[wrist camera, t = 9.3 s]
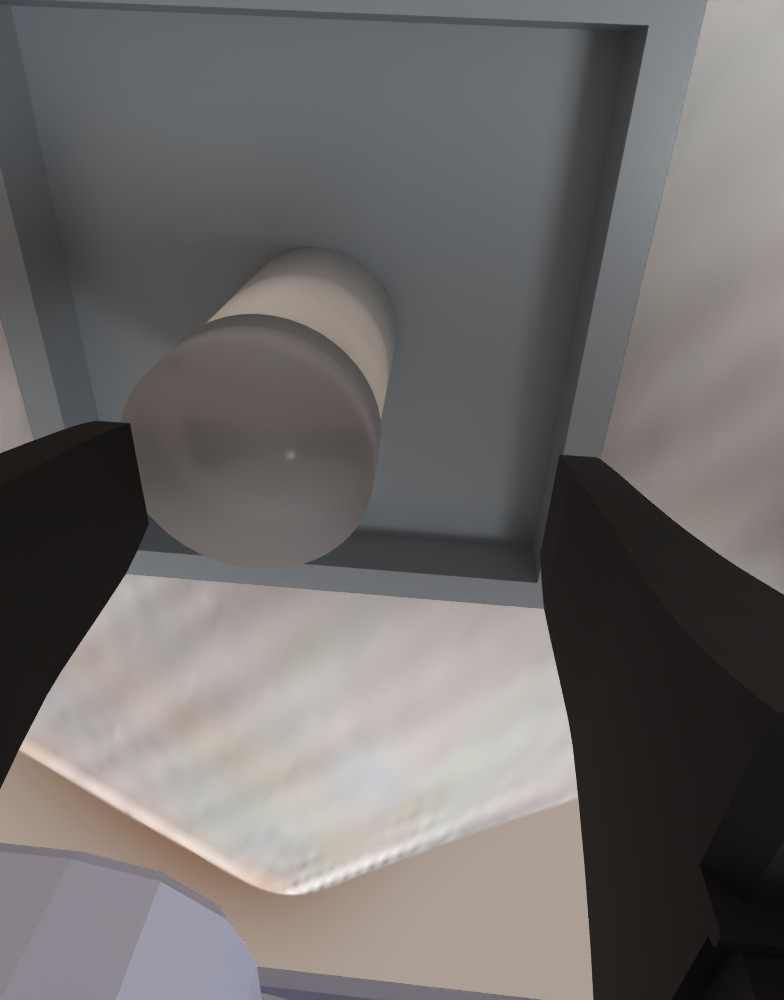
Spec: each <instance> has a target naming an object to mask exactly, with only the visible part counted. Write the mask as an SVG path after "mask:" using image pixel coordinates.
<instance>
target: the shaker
mask: <svg viewBox="0 0 784 1000" xmlns="http://www.w3.org/2000/svg"><path fill="white" fill-rule="evenodd" d="M396 339H397V322H396V316H395V311H394V308H393V305H392V302H391V300H390V297H389V295H388V293H387V291H386V290H385V288H384V286H383V285H382V283H381V282H380V281H379V280H378V278H377V277H376V276H375V275H374V274H373V273H372V272H371V271H370V270H369V269H368V268H367V267H366V266H364V265H363V264H362V263H360V262H359V261H358V260H356V259H354V258H352V257H350V256H348V255H346V254H344V253H341V252H339V251H335V250H331V249H327V248H318V247H310V248H300V249H295V250H292V251H289V252H286V253H283V254H281V255H279V256H277V257H275V258H274V259H272V260H271V261H270V262H268V263H267V264H266V265H265V266H264V267H263V268H262V269H261V270H259V271H258V272H257V273H256V274H255V275H254V276H253V277H252V278H251V279H250V280H249V281H248V282H247V283H246V284H245V285H244V286H243V287H242V288H241V289H240V290H239V291H238V292H237V293H236V294H235V295H234V296H233V297H232V298H231V299H230V300H229V301H228V302H227V303H226V304H225V305H224V306H223V307H222V308H221V309H220V310H219V311H218V312H217V313H216V314H215V315H214V316H213V317H212V318H211V319H210V320H209V321H208V322H207V323H206V324H204V325H202V326H200V327H198V328H196V329H195V330H193V331H192V332H190V333H189V334H187V335H186V336H185V337H184V338H182V339H181V340H180V341H179V342H178V343H177V344H176V345H175V346H174V347H173V348H172V349H171V350H170V351H169V352H168V353H167V354H166V355H165V356H164V357H163V358H162V359H160V360H159V361H158V362H157V363H156V364H155V365H154V366H153V367H152V368H151V369H150V370H149V371H148V372H147V373H146V374H145V375H144V376H143V377H142V378H141V379H140V380H139V382H138V383H137V384H136V386H135V387H134V388H133V390H132V392H131V394H130V396H129V397H128V399H127V401H126V404H125V407H124V410H123V413H122V416H121V422H122V423H130V426H131V431H132V436H133V442H134V447H135V452H136V457H137V463H138V468H139V473H140V479H141V484H142V489H143V495H144V500H145V505H146V510H147V513H148V514H149V515H150V516H151V518H152V519H153V520H154V521H155V522H156V523H157V524H158V525H159V526H160V527H161V528H162V529H164V530H165V531H166V532H167V533H168V534H169V535H171V536H172V537H173V538H175V539H176V540H178V541H179V542H180V543H182V544H183V545H185V546H187V547H188V548H190V549H192V550H194V551H196V552H197V553H199V554H202V555H204V556H206V557H209V558H211V559H213V560H216V561H220V562H223V563H226V564H230V565H234V566H239V567H244V568H253V569H278V568H288V567H292V566H297V565H301V564H304V563H307V562H310V561H313V560H315V559H317V558H319V557H321V556H323V555H325V554H327V553H329V552H330V551H332V550H333V549H335V548H336V547H338V546H339V545H340V544H341V543H342V542H344V541H345V540H346V539H347V538H348V537H349V536H350V535H351V534H352V532H353V531H354V530H355V529H356V528H357V526H358V525H359V523H360V521H361V520H362V518H363V516H364V515H365V512H366V510H367V507H368V505H369V502H370V499H371V494H372V490H373V485H374V480H375V474H376V469H377V464H378V458H379V453H380V447H381V435H382V432H381V417H382V412H383V407H384V401H385V396H386V391H387V386H388V381H389V376H390V371H391V366H392V361H393V356H394V351H395V346H396Z"/></svg>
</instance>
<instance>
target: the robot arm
mask: <svg viewBox="0 0 784 1000" xmlns="http://www.w3.org/2000/svg"><path fill="white" fill-rule="evenodd" d="M148 525H149V521H148V516H147V510H146V505H145V500H144V495H143V489H142V484H141V479H140V473H139V468H138V463H137V457H136V452H135V447H134V442H133V436H132V431H131V426H130V423H122V422H108V421H91V422H87V423H83V424H79V425H76V426H73V427H69V428H66V429H64V430H61V431H58V432H55V433H52V434H50V435H47V436H44V437H42V438H39V439H36V440H34V441H31V442H29V443H26V444H23V445H21V446H18V447H16V448H13V449H10V450H8V451H5V452H3V453H0V788H1V786H2V784H3V782H4V780H5V778H6V776H7V773H8V771H9V769H10V767H11V765H12V763H13V761H14V759H15V757H16V755H17V753H18V750H19V748H20V746H21V744H22V742H23V740H24V738H25V737H26V735H27V733H28V731H29V729H30V727H31V725H32V723H33V721H34V719H35V717H36V715H37V713H38V711H39V709H40V707H41V705H42V704H43V702H44V700H45V698H46V696H47V694H48V692H49V691H50V689H51V687H52V686H53V684H54V682H55V681H56V679H57V677H58V676H59V674H60V672H61V671H62V669H63V668H64V666H65V665H66V663H67V662H68V660H69V659H70V657H71V656H72V654H73V653H74V651H75V650H76V648H77V647H78V645H79V644H80V642H81V641H82V639H83V638H84V636H85V635H86V633H87V632H88V630H89V629H90V627H91V626H92V625H93V623H94V622H95V620H96V619H97V617H98V616H99V614H100V613H101V611H102V610H103V608H104V607H105V605H106V604H107V602H108V601H109V599H110V597H111V596H112V594H113V593H114V591H115V590H116V588H117V587H118V585H119V584H120V582H121V581H122V579H123V577H124V576H125V574H126V573H127V571H128V569H129V567H130V565H131V563H132V561H133V559H134V557H135V555H136V553H137V551H138V548H139V546H140V544H141V541H142V539H143V537H144V534H145V532H146V530H147V527H148ZM540 565H541V581H542V593H543V605H544V610H545V615H546V620H547V625H548V629H549V634H550V639H551V643H552V648H553V652H554V657H555V661H556V666H557V670H558V675H559V679H560V684H561V688H562V693H563V697H564V702H565V706H566V711H567V715H568V720H569V726H570V732H571V738H572V744H573V752H574V761H575V771H576V780H577V790H578V799H579V809H580V820H581V831H582V842H583V853H584V864H585V876H586V889H587V904H588V917H589V929H590V930H589V931H590V944H591V962H592V980H593V998H594V1000H784V594H782V593H780V592H778V591H776V590H775V589H773V588H771V587H770V586H768V585H767V584H765V583H763V582H762V581H760V580H758V579H757V578H755V577H753V576H752V575H750V574H749V573H747V572H745V571H744V570H742V569H740V568H739V567H737V566H736V565H734V564H733V563H731V562H730V561H728V560H727V559H725V558H723V557H722V556H721V555H719V554H718V553H716V552H715V551H713V550H712V549H711V548H709V547H708V546H707V545H705V544H704V543H703V542H701V541H700V540H698V539H697V538H696V537H694V536H693V535H692V534H690V533H689V532H687V531H686V530H685V529H684V528H682V527H681V526H680V525H679V524H677V523H676V522H675V521H673V520H672V519H671V518H670V517H668V516H667V515H666V514H665V513H664V512H662V511H661V510H660V509H659V508H658V507H656V506H655V505H654V504H653V503H652V502H650V501H649V500H648V499H647V498H646V497H645V496H643V495H642V494H641V493H640V492H639V491H638V490H636V489H635V488H634V487H633V486H632V485H631V484H629V483H628V482H627V481H626V480H625V479H624V478H623V477H621V476H620V475H619V474H618V473H617V472H616V471H614V470H613V469H612V468H611V467H610V466H608V465H607V464H606V463H605V462H603V461H602V460H601V459H599V458H598V457H587V456H573V455H560V454H559V459H558V464H557V470H556V475H555V480H554V485H553V490H552V495H551V501H550V506H549V511H548V516H547V521H546V527H545V532H544V537H543V542H542V547H541V552H540ZM0 1000H538V999H529V998H521V997H513V996H504V995H495V994H487V993H478V992H470V991H461V990H453V989H444V988H436V987H426V986H418V985H410V984H401V983H392V982H384V981H376V980H367V979H358V978H350V977H341V976H333V975H324V974H316V973H307V972H298V971H290V970H282V969H273V968H264V967H257V963H256V962H255V960H254V958H253V956H252V955H251V953H250V951H249V950H248V948H247V946H246V945H245V943H244V942H243V940H242V939H241V937H240V935H239V934H238V932H237V931H236V929H235V928H234V927H233V925H232V923H231V922H230V920H229V919H228V917H227V916H226V914H225V913H224V911H223V910H222V908H221V907H220V906H219V905H217V904H216V903H214V902H212V901H210V900H209V899H207V898H205V897H204V896H202V895H200V894H198V893H197V892H195V891H193V890H192V889H190V888H188V887H186V886H185V885H183V884H181V883H180V882H178V881H176V880H175V879H173V878H171V877H169V876H168V875H166V874H164V873H163V872H161V871H157V870H153V869H149V868H145V867H141V866H137V865H133V864H129V863H125V862H121V861H117V860H113V859H109V858H105V857H101V856H97V855H93V854H89V853H85V852H79V851H70V850H69V851H68V850H60V849H51V848H42V847H33V846H23V845H14V844H5V843H0Z"/></svg>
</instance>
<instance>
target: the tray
mask: <svg viewBox="0 0 784 1000" xmlns="http://www.w3.org/2000/svg"><path fill="white" fill-rule="evenodd" d="M706 4H707V0H0V317H1V320H2V324H3V328H4V331H5V335H6V339H7V342H8V346H9V349H10V353H11V357H12V360H13V364H14V368H15V371H16V375H17V379H18V382H19V386H20V389H21V393H22V397H23V400H24V404H25V408H26V411H27V415H28V418H29V422H30V426H31V429H32V433H33V437H34V440H36V439H39V438H42V437H44V436H47V435H50V434H52V433H55V432H58V431H61V430H64V429H66V428H69V427H73V426H76V425H79V424H83V423H87V422H91V421H108V422H121V416H122V413H123V410H124V407H125V404H126V401H127V399H128V397H129V396H130V394H131V392H132V390H133V388H134V387H135V386H136V384H137V383H138V382H139V380H140V379H141V378H142V377H143V376H144V375H145V374H146V373H147V372H148V371H149V370H150V369H151V368H152V367H153V366H154V365H155V364H156V363H157V362H158V361H159V360H160V359H162V358H163V357H164V356H165V355H166V354H167V353H168V352H169V351H170V350H171V349H172V348H173V347H174V346H175V345H176V344H177V343H178V342H179V341H180V340H181V339H182V338H184V337H185V336H186V335H187V334H189V333H190V332H192V331H193V330H195V329H196V328H198V327H200V326H202V325H204V324H206V323H207V322H208V321H209V320H210V319H211V318H212V317H213V316H214V315H215V314H216V313H217V312H218V311H219V310H220V309H221V308H222V307H223V306H224V305H225V304H226V303H227V302H228V301H229V300H230V299H231V298H232V297H233V296H234V295H235V294H236V293H237V292H238V291H239V290H240V289H241V288H242V287H243V286H244V285H245V284H246V283H247V282H248V281H249V280H250V279H251V278H252V277H253V276H254V275H255V274H256V273H257V272H258V271H259V270H261V269H262V268H263V267H264V266H265V265H266V264H267V263H268V262H270V261H271V260H272V259H274V258H275V257H277V256H279V255H281V254H283V253H286V252H289V251H292V250H295V249H300V248H310V247H318V248H327V249H331V250H335V251H339V252H341V253H344V254H346V255H348V256H350V257H352V258H354V259H356V260H358V261H359V262H360V263H362V264H363V265H364V266H366V267H367V268H368V269H369V270H370V271H371V272H372V273H373V274H374V275H375V276H376V277H377V278H378V280H379V281H380V282H381V283H382V285H383V286H384V288H385V290H386V291H387V293H388V295H389V297H390V300H391V302H392V305H393V308H394V311H395V316H396V322H397V339H396V346H395V351H394V356H393V361H392V366H391V371H390V376H389V381H388V386H387V391H386V396H385V401H384V407H383V412H382V417H381V432H382V435H381V447H380V453H379V458H378V464H377V469H376V474H375V480H374V485H373V490H372V494H371V499H370V502H369V505H368V507H367V510H366V512H365V515H364V516H363V518H362V520H361V521H360V523H359V525H358V526H357V528H356V529H355V530H354V531H353V532H352V534H351V535H350V536H349V537H348V538H347V539H346V540H345V541H344V542H342V543H341V544H340V545H339V546H338V547H336V548H335V549H333V550H332V551H330V552H329V553H327V554H325V555H323V556H321V557H319V558H317V559H315V560H313V561H310V562H307V563H304V564H301V565H297V566H292V567H288V568H278V569H253V568H244V567H239V566H234V565H230V564H226V563H223V562H220V561H216V560H213V559H211V558H209V557H206V556H204V555H202V554H199V553H197V552H196V551H194V550H192V549H190V548H188V547H187V546H185V545H183V544H182V543H180V542H179V541H178V540H176V539H175V538H173V537H172V536H171V535H169V534H168V533H167V532H166V531H165V530H164V529H162V528H161V527H160V526H159V525H158V524H157V523H156V522H155V521H154V520H153V519H152V518H151V516H150V515H149V514H148V513H147V516H148V521H149V525H148V527H147V530H146V532H145V534H144V537H143V539H142V541H141V544H140V546H139V548H138V551H137V553H136V555H135V557H134V559H133V561H132V563H131V565H130V567H129V569H128V571H127V573H126V574H134V575H146V576H158V577H170V578H182V579H194V580H206V581H218V582H230V583H242V584H254V585H266V586H278V587H290V588H302V589H314V590H326V591H338V592H350V593H362V594H374V595H386V596H398V597H409V598H421V599H433V600H445V601H457V602H469V603H481V604H493V605H505V606H517V607H529V608H541V609H544V605H543V593H542V581H541V565H540V552H541V547H542V542H543V537H544V532H545V527H546V521H547V516H548V511H549V506H550V501H551V495H552V490H553V485H554V480H555V475H556V470H557V464H558V459H559V454H560V455H573V456H587V457H598V458H599V459H600V458H601V453H602V449H603V445H604V440H605V436H606V432H607V428H608V423H609V419H610V415H611V411H612V406H613V402H614V398H615V393H616V389H617V385H618V381H619V376H620V372H621V368H622V364H623V359H624V355H625V351H626V346H627V342H628V338H629V334H630V329H631V325H632V321H633V316H634V312H635V308H636V304H637V299H638V295H639V291H640V287H641V282H642V278H643V274H644V269H645V265H646V261H647V257H648V252H649V248H650V244H651V239H652V235H653V231H654V227H655V222H656V218H657V214H658V210H659V205H660V201H661V197H662V192H663V188H664V184H665V180H666V175H667V171H668V167H669V163H670V158H671V154H672V150H673V145H674V141H675V137H676V133H677V128H678V124H679V120H680V115H681V111H682V107H683V103H684V98H685V94H686V90H687V86H688V81H689V77H690V73H691V68H692V64H693V60H694V56H695V51H696V47H697V43H698V39H699V34H700V30H701V26H702V21H703V17H704V13H705V9H706Z"/></svg>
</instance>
